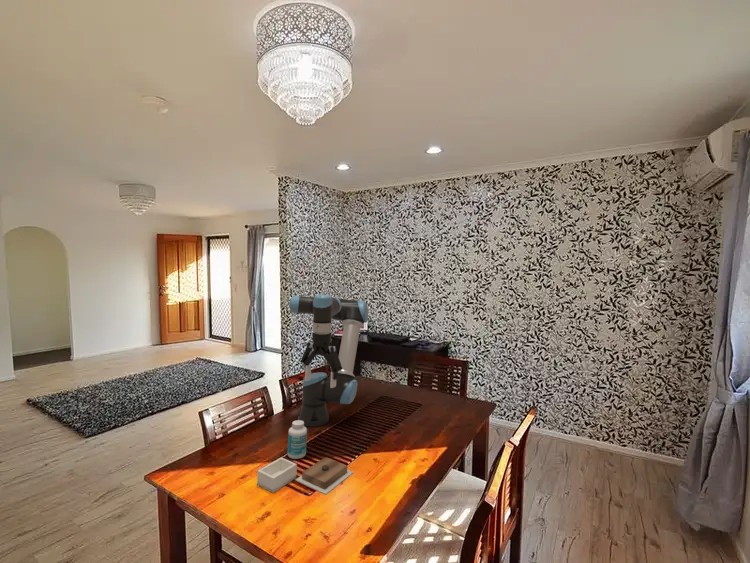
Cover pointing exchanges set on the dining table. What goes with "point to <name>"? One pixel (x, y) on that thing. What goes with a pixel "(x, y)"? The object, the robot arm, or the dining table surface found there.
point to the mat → (327, 487)
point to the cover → (324, 473)
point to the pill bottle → (297, 440)
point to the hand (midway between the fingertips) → (320, 383)
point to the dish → (276, 474)
